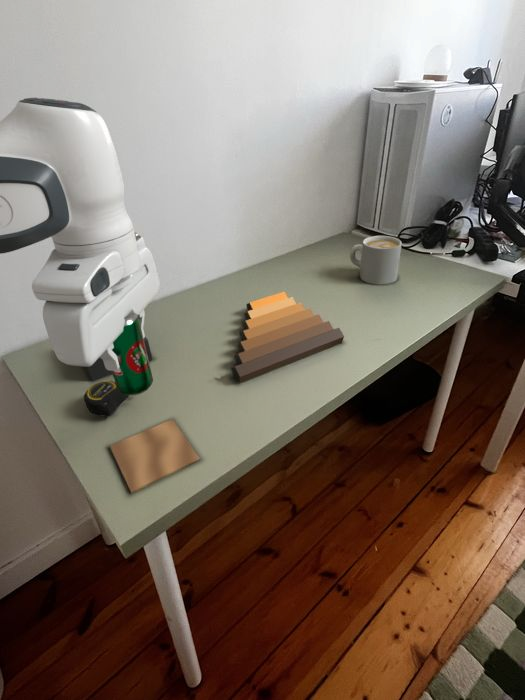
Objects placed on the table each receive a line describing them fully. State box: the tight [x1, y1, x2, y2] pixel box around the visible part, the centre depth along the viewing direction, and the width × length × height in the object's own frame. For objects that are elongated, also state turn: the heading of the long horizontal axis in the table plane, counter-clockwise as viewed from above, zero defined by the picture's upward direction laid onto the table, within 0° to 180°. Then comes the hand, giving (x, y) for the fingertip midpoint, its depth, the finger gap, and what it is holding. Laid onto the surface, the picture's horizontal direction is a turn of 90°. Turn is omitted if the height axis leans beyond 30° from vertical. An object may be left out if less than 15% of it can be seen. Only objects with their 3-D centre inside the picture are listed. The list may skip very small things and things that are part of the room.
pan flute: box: [231, 291, 345, 384], centre depth 96 cm, size 25×3×25 cm
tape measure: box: [83, 380, 131, 417], centre depth 78 cm, size 7×7×4 cm
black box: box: [85, 336, 153, 382], centre depth 92 cm, size 13×13×5 cm
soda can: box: [111, 309, 154, 396], centre depth 58 cm, size 5×5×12 cm
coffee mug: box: [349, 235, 402, 286], centre depth 118 cm, size 13×10×10 cm
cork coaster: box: [109, 418, 201, 494], centre depth 69 cm, size 11×11×1 cm
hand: (126, 353), depth 58 cm, fingers closed on soda can, 5 cm apart
